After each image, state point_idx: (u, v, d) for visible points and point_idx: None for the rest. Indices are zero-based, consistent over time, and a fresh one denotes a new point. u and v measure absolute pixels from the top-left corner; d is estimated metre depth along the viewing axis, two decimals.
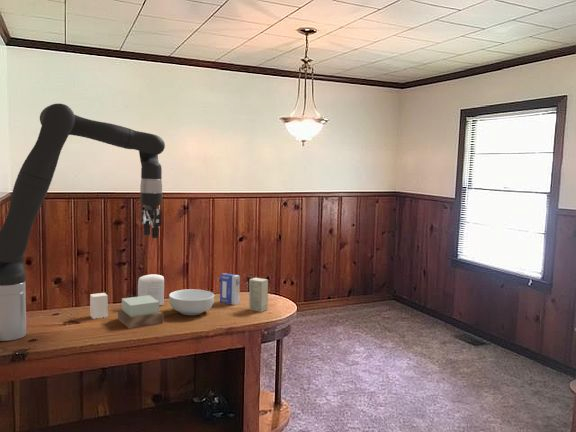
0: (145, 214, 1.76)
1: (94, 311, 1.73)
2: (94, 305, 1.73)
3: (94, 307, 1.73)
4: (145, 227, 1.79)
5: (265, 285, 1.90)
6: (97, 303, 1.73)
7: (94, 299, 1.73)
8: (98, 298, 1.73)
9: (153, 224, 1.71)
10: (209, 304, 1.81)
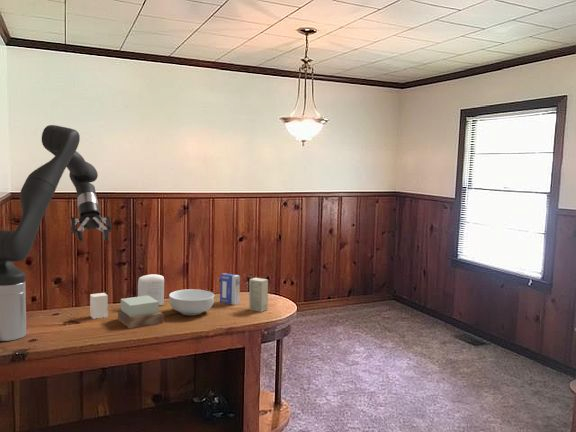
0: (87, 221, 1.86)
1: (94, 311, 1.73)
2: (94, 305, 1.73)
3: (94, 307, 1.73)
4: (81, 234, 1.83)
5: (265, 285, 1.90)
6: (97, 303, 1.73)
7: (94, 299, 1.73)
8: (98, 298, 1.73)
9: None
10: (209, 304, 1.81)
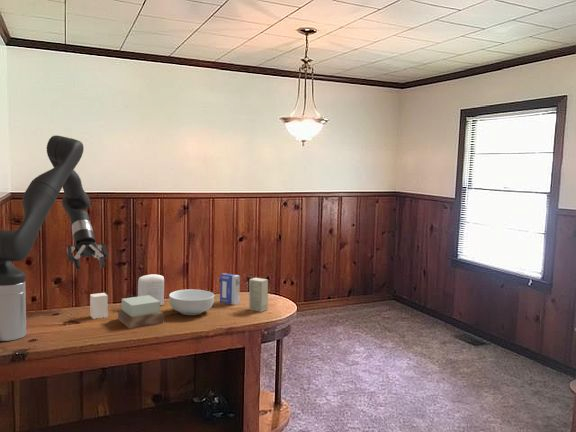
0: (84, 249, 1.86)
1: (94, 311, 1.73)
2: (94, 305, 1.73)
3: (94, 307, 1.73)
4: None
5: (265, 285, 1.90)
6: (97, 303, 1.73)
7: (94, 299, 1.73)
8: (98, 298, 1.73)
9: None
10: (209, 304, 1.81)
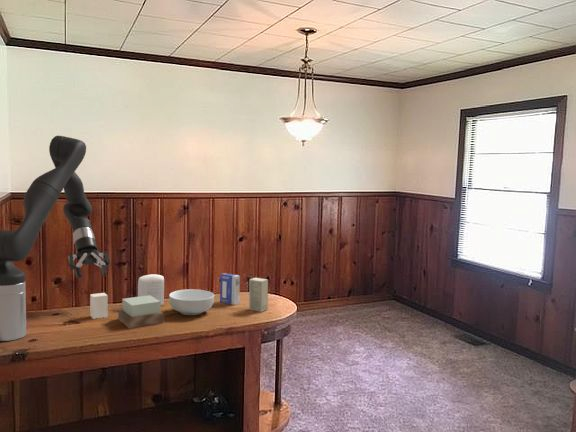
0: (85, 257, 1.84)
1: (94, 311, 1.73)
2: (94, 305, 1.73)
3: (94, 307, 1.73)
4: None
5: (265, 285, 1.90)
6: (97, 303, 1.73)
7: (94, 299, 1.73)
8: (98, 298, 1.73)
9: (104, 263, 1.86)
10: (209, 304, 1.81)
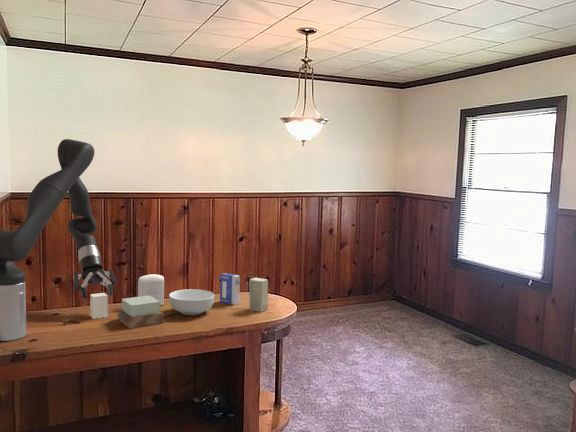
0: (91, 276, 1.78)
1: (94, 311, 1.73)
2: (94, 305, 1.73)
3: (94, 307, 1.73)
4: None
5: (265, 285, 1.90)
6: (97, 303, 1.73)
7: (94, 299, 1.73)
8: (98, 298, 1.73)
9: (110, 282, 1.81)
10: (209, 304, 1.81)
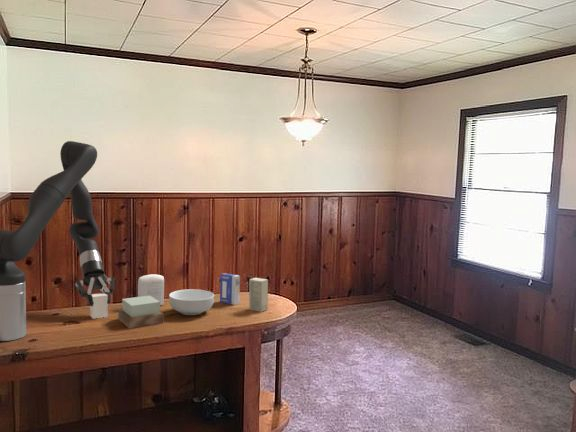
0: (93, 281, 1.77)
1: (94, 311, 1.73)
2: (94, 305, 1.73)
3: (94, 307, 1.73)
4: None
5: (265, 285, 1.90)
6: (97, 303, 1.73)
7: (94, 299, 1.73)
8: (98, 298, 1.73)
9: (108, 290, 1.78)
10: (209, 304, 1.81)
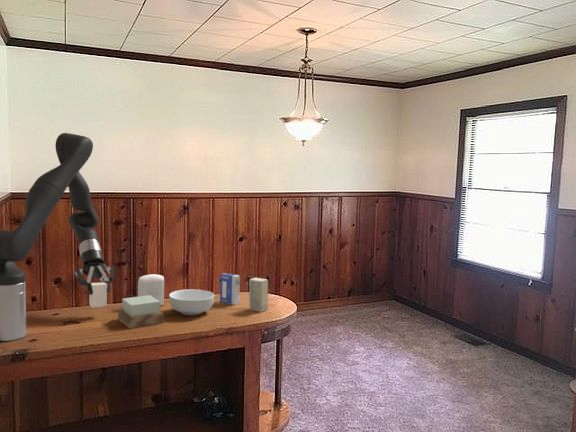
0: (93, 270, 1.76)
1: (93, 300, 1.72)
2: (93, 294, 1.72)
3: (93, 296, 1.72)
4: None
5: (265, 285, 1.90)
6: (97, 292, 1.73)
7: (93, 288, 1.72)
8: (98, 287, 1.73)
9: (108, 279, 1.78)
10: (209, 304, 1.81)
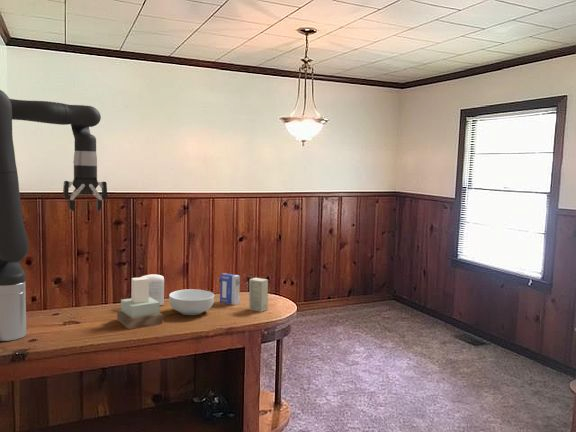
0: (82, 188, 1.69)
1: (135, 295, 1.68)
2: (135, 289, 1.68)
3: (135, 291, 1.68)
4: None
5: (265, 285, 1.90)
6: (138, 287, 1.69)
7: (135, 283, 1.68)
8: (139, 282, 1.69)
9: (101, 196, 1.74)
10: (209, 304, 1.81)
